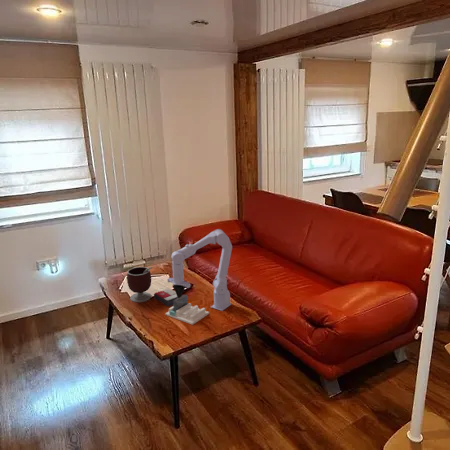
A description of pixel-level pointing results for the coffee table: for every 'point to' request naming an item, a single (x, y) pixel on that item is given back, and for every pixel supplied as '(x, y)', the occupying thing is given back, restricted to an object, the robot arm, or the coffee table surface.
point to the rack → (188, 313)
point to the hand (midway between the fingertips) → (179, 296)
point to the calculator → (166, 296)
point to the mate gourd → (139, 283)
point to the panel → (180, 302)
